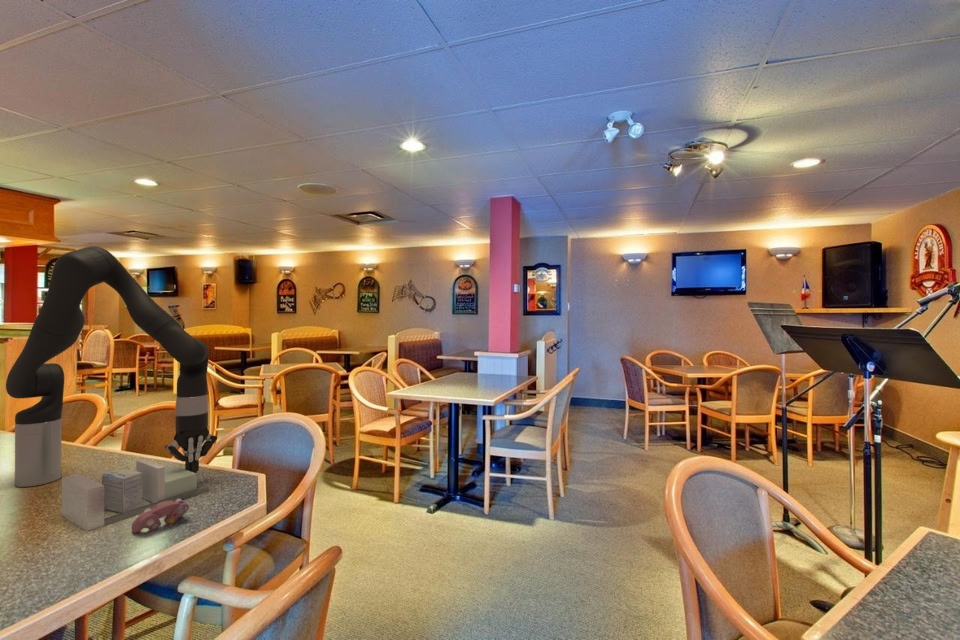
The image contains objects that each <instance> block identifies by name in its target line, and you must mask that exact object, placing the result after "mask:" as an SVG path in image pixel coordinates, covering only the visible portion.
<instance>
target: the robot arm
mask: <svg viewBox="0 0 960 640" xmlns="http://www.w3.org/2000/svg"><path fill="white" fill-rule="evenodd" d="M51 273H52V274H51V277H50V281H49V286H48V289H47V292H46V294H45V295H46V296H45V297H44V300H43V303H42V305H41V307H40V310H39V312H38V314H37V316H36V317H35V319H34V322H33V325H32V327H31V329H30V333H29V335H28V337H27V340H26V343H25V344H24V346H23V349H22V351H21V352H20V354H19V355H18V357H17V358H16V360H15V362H14V363H13V365H12V367H11V368H10V370H9V372H8V374H7V377H6V381H5V390H6V392H7V394H8V396H10V397H11V398H13V399H31V398H38V397H41V399H40V401H38V402H37V403H35V404H33V405H31V406H29V407H27V408H25V409H22V410H20V411H18V412H16V413H15V416H14V486H15V487H18V488H27V487H34V486H40V485H46V484H49V483H53V482H55V481H57V480H59V479H62V413H63V406H64V393H65V392H64V389H65V372H64V368H63V367H62V366H61V365H60V364H59V363H53V362H51V363H47V362H48V361H50V360H52V359H53V358H55V357H56V356H58V355H60V354H62V353H63V352H65V351H66V350H68V349H69V348H71V347H72V346H73V345H74V344H75V343H76V342H77V340H78V338H79V336H80V335H81V332H82V330H83V329H84V325H85V316H84V313H83V310H82V309H81V303H82V301H83V299H84V297H85V295H86V294H87V292H88V291H89V290H90V289H92V287H94V286H97V285H100V284H104V283H105V284H106V285H108V286H110V287H111V288H112V289H113V290H115V292H116V293H117V294H118V295H119V296H120V297H121V298H122V301H123V302H124V305H125V307H126V310H127V311H128V313H129V317H131V319H132V321H133V322H134V324H135V325H137V327H139V328H140V329H141V331H143V332H144V333H146V334H147V335H148V336H150V338H152V339H153V340H155V341H156V342H157V343H159V344H160V346H161V347H162V349H164V350H165V351H166V352H167V353H168V354H169V356H171V357H172V358H173V359H174V360H175V361H176V362H177V363H179V375H178V377H177V380H176V400H175V435H174V437H173V441H171V442H170V443H169V444H166V445H165V446H164V449H165V450H166V451H167V452H168V453H169V454H171V456H172V457H173V458H175V459H176V460H177V461H181V462H183V463H185V464H184V467H185V468H184V469H185V470H188V471H191V472H194V473H198V472H199V470H200V459H201V458H202V457H206V456H207V454H208V453H209V451H210V450H211V448H212V447H213V446H214V444H215V443H216V441H217V440H218V436H217V435H213V434H211V433H210V430H209V429H208V427H209V399H208V378H207V376H208V375H207V373H208V368H209V367H208V366H209V354H210V352H209V347H208V345H207V344H206V343H205V341H202V340H201V339H196V338H195V337H193V336H192V335H190V334H189V333H188V332H187V331H186V330H185V329H184V328H183V327H182V324H180V322H178V320H176V319H175V318H174V317H173V316H172V315H171V314H169V313H168V312H167V311H166V310H165V309H164V308H162V306H160V305H159V304H157V302H155V301H154V299H153V298H152V297H151V296H150V295H149V294H148V293H147V292H146V291H145V290H144V289H143V287H142V286H141V285H140V284H139V283H138V282H137V280H136V279H135V278H134V277H133V276H132V275H131V273H130V272H129V271H128V269H126V267H124V265H123V264H122V263H121V262H120V260H118V259H117V257H116V256H115V255H113V253H112V252H110V251H109V250H107V249H105V248H103V247H100V246H95V245H94V246H93V245H91V246H88V247H87V246H86V247H83V248H78V249H75V250H71V251H69V252H65V253H63V254H62V255H60V256H59V257H58V258H57V259H56V261H55V263H54V266H53V269H52V272H51ZM179 448H181V452H180V451H179V450H178V449H179Z"/></svg>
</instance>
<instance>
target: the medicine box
mask: <svg viewBox="0 0 960 640" xmlns="http://www.w3.org/2000/svg"><path fill="white" fill-rule="evenodd" d="M101 484H102V485H104V511H105V510H106V511H111V512H115V513H118V514H120V513H123V512H126V511H130V510H133V509H136V508H139V507H142V506H144V504H143V503H144V502H143V498H142V473H141V472H137V471H136V470H130V469H124V468H119V469H116V470H112V471H109V472H106V473H104V474H102V476H101Z"/></svg>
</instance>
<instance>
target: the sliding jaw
mask: <svg viewBox="0 0 960 640" xmlns="http://www.w3.org/2000/svg"><path fill="white" fill-rule="evenodd" d="M135 471H137V472H141V473H142V499H143V500H147V501H148V502H151V503H155V502H158V501H161V500H164V499H167V498H171V497H174V496H177V495H180V494H183V493H186V492H190V491H193V490H196V489H198V488H197V485H198V483H197V482H198V477H197V476H198V474H197V473H198V472H197V473H194V472H191V471H188V470H185V468H182V467H180V466H177V465H172V466H169V467H165V466H164V465H161V464H158V463H155V462H153V461H150V460H146V459H144V458H141V459H138V460H136V470H135Z"/></svg>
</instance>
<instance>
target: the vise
mask: <svg viewBox="0 0 960 640" xmlns="http://www.w3.org/2000/svg"><path fill="white" fill-rule="evenodd" d="M209 491H210V486H208V485H206V486H202V487H199V488H197V489H196V490H193V491H190V492H186V493H183V494H180V495H177V496H174V497H171V498H167V499H164V500H161V501H158V502H155V503H153V502H151V503H149V504H146V505H143V506H142V507H139V508H136V509H133V510H130V511H126V512H123V513H117V514H114V515H111V516H108V517H105V509H104V485H102V483H101V482H97V481H96V480H93V479H91V478H89V477H88V476H86V475H83V474H81V473H79V472H78V473H75V474H71V475H66V476H61V517H63V518H65V519H67V520H68V521H70V522H72V523H73V524H74V523H75V525H76V526H78V527H79V528H81V529H83V530H84V531H85V532H89V531H92V530H95V529H98V528H101V527H104V526H107V525H111V524H113V523H116V522H120V521H123V520H125V519H128V518H131V517H135V516H137V515H138V516H139V515H140V514H141V513H142V512H144V511H145V510H146V509H147V508H152V507H154V506H155V505H157V504H159V503H161V502H164V501H176V500H177V499H179V498H180V499H181V500H183V501H185V500H187V499H190V498H192V497H195V496H199V495H201V493H202V494H205V493H208V492H209ZM204 492H205V493H204ZM198 494H199V495H198ZM189 497H190V498H189Z"/></svg>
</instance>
